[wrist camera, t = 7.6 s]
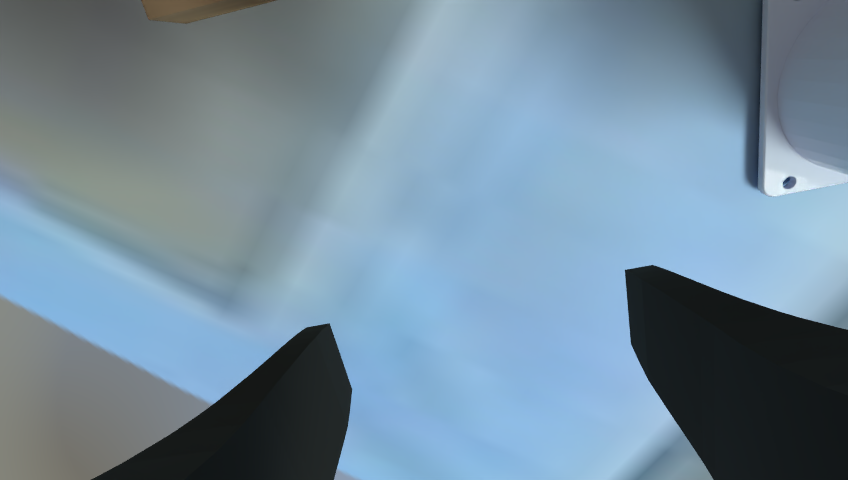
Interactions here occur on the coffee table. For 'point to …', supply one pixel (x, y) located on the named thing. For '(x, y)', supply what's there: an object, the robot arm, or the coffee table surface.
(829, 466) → the robot arm
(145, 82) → the coffee table surface
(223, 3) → the tan flat block
